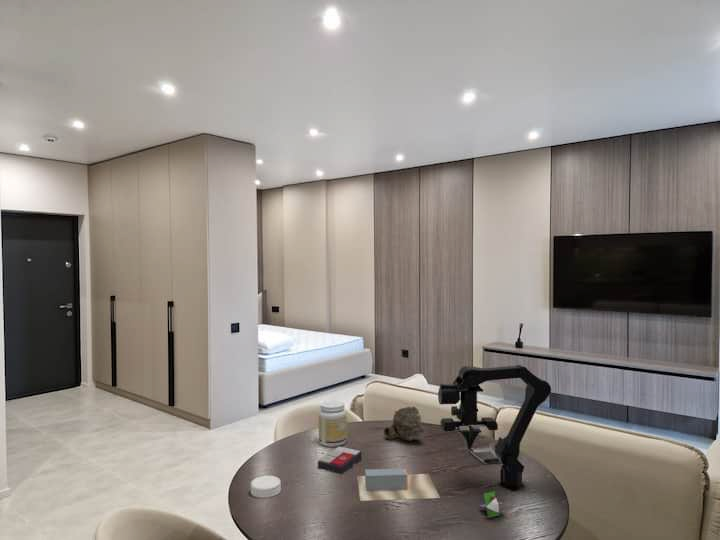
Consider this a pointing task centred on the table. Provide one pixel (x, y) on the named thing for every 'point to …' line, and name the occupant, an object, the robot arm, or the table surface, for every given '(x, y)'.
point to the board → (417, 489)
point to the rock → (405, 425)
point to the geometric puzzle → (491, 504)
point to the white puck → (265, 486)
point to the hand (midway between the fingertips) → (468, 448)
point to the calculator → (340, 460)
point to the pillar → (386, 479)
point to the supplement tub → (332, 424)
